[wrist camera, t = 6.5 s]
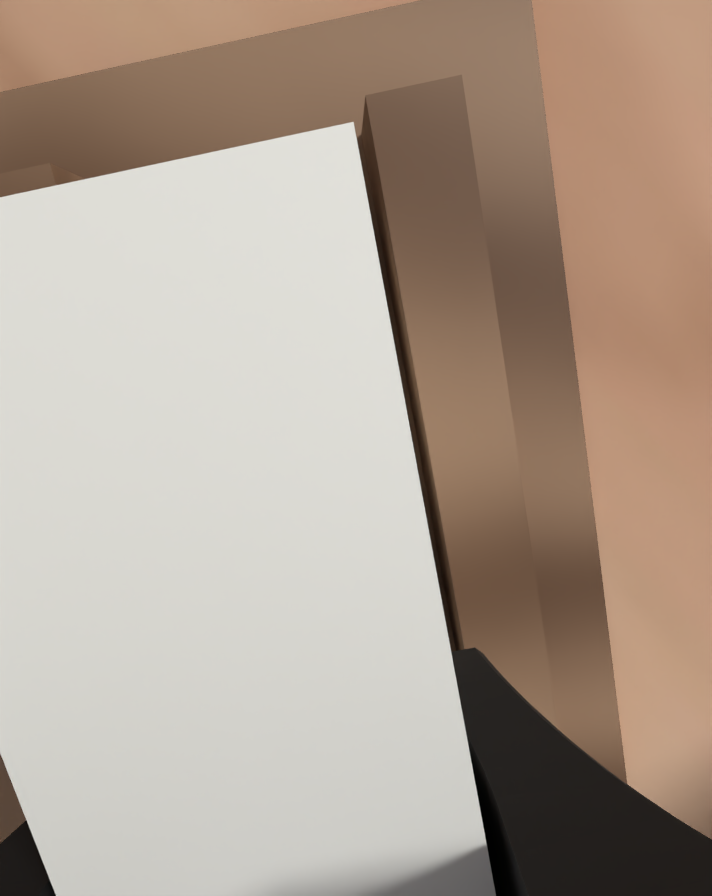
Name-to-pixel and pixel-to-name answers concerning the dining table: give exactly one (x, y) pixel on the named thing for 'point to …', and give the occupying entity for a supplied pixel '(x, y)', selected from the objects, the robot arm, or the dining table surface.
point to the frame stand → (416, 291)
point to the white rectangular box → (221, 542)
